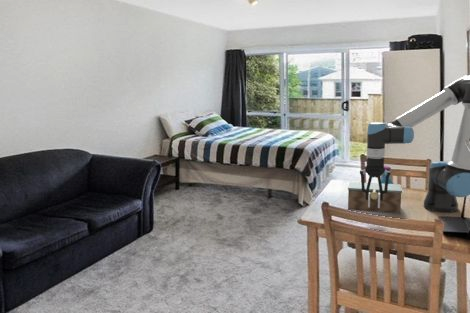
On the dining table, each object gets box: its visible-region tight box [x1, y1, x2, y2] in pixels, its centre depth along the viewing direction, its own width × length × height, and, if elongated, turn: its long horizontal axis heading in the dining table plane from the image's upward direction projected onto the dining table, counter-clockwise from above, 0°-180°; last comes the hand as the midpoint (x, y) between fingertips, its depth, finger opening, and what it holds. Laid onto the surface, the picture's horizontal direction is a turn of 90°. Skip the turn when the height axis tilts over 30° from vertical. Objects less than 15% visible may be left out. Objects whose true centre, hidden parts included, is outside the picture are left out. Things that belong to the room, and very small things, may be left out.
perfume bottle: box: [381, 165, 395, 184], centre depth 223 cm, size 9×9×15 cm
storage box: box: [347, 189, 402, 214], centre depth 200 cm, size 24×12×10 cm, turn 71°
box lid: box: [347, 181, 403, 199], centre depth 194 cm, size 25×23×4 cm
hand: (373, 206), depth 186 cm, fingers closed on box lid, 4 cm apart
